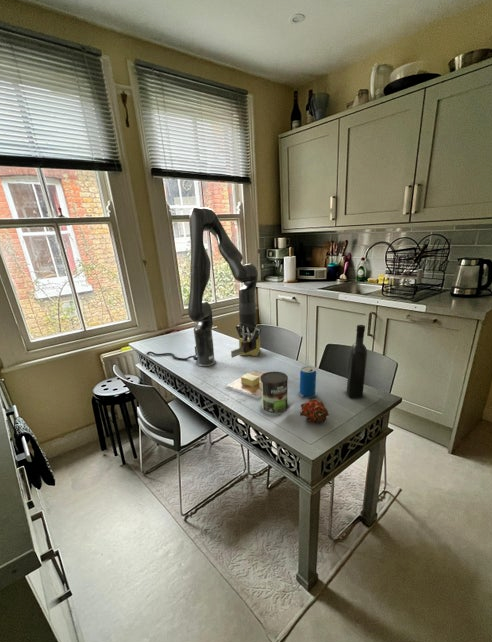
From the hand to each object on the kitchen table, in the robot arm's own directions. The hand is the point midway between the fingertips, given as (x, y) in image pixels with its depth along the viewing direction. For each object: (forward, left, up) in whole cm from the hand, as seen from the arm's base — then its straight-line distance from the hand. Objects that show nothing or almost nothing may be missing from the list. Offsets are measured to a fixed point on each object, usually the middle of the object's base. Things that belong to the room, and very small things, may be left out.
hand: (248, 347), depth 147 cm
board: (+8, -6, -15) cm, 18 cm away
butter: (+7, -8, -13) cm, 17 cm away
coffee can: (+27, -18, -15) cm, 36 cm away
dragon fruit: (+43, -16, -15) cm, 48 cm away
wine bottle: (+48, +10, -15) cm, 51 cm away
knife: (0, -4, -1) cm, 4 cm away
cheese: (-20, +24, -15) cm, 35 cm away
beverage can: (+32, -1, -15) cm, 35 cm away
